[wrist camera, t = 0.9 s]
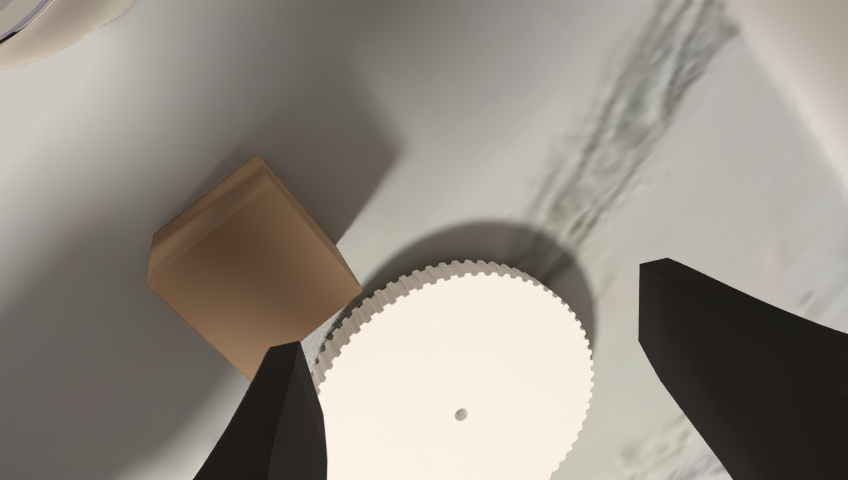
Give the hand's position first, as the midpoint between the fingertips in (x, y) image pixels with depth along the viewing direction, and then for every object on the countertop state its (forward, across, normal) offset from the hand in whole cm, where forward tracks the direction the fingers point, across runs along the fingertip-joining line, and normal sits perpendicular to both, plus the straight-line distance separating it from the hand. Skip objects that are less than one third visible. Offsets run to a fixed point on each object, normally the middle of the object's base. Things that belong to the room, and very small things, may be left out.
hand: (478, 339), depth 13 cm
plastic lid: (+14, 0, +13) cm, 19 cm away
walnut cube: (+13, +7, +3) cm, 15 cm away
